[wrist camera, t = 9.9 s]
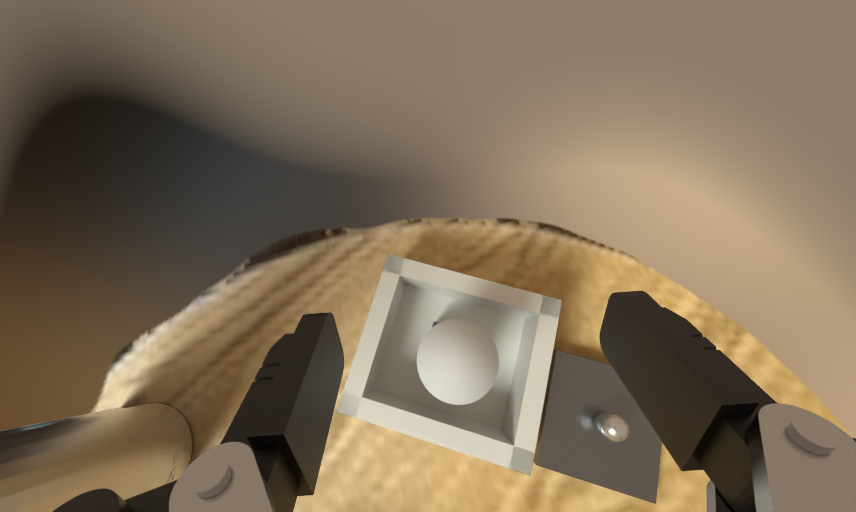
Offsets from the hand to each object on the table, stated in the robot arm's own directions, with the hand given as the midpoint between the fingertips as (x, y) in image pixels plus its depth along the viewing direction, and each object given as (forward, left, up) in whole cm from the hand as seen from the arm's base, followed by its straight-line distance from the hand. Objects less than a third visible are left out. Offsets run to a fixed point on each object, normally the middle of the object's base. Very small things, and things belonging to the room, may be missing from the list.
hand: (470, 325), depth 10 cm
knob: (+1, -1, -23) cm, 23 cm away
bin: (0, -1, -24) cm, 24 cm away
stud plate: (+15, -3, -24) cm, 28 cm away
